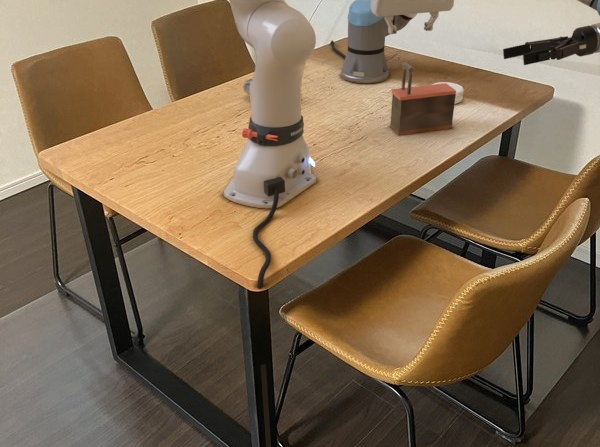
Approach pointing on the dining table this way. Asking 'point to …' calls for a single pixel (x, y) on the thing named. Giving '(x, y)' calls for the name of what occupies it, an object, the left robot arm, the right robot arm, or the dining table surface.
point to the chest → (422, 114)
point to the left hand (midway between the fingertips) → (410, 31)
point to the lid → (419, 87)
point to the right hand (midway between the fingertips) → (513, 56)
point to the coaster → (458, 89)
